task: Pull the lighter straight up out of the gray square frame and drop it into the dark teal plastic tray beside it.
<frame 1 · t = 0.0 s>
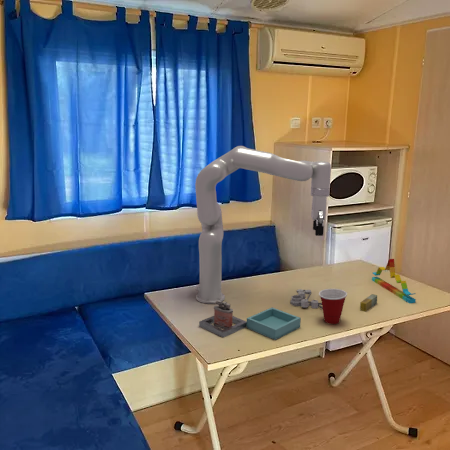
hand: (317, 232, 200), 31 cm above the table, tool pointing down, fingers open, 9 cm apart
pulley system: (306, 304, 207), on the table
medication box: (368, 307, 203), on the table
plastic cup: (331, 321, 188), on the table
lighter: (223, 327, 183), resting in gray square frame
gray square frame: (223, 326, 183), on the table
tray: (273, 327, 182), on the table
rainbow zigzag toy: (392, 291, 222), on the table
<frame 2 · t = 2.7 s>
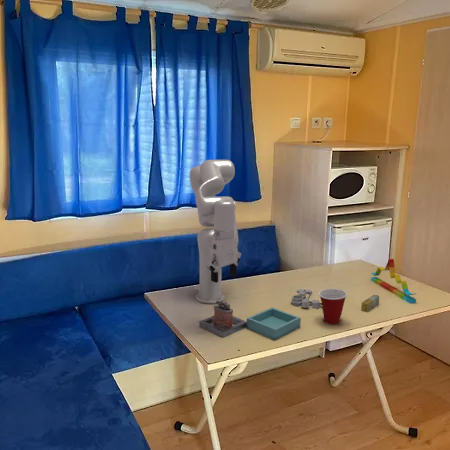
hand: (223, 278, 178), 19 cm above the table, tool pointing down, fingers open, 9 cm apart
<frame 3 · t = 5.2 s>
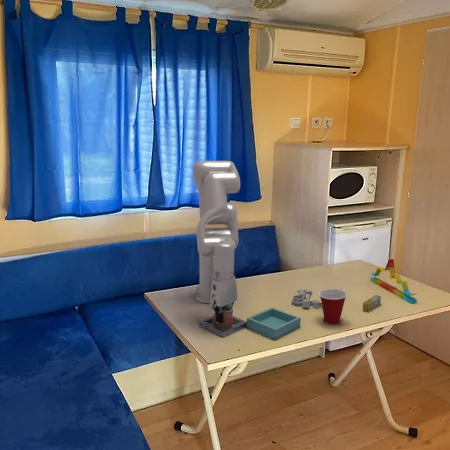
hand: (223, 319, 182), 3 cm above the table, tool pointing down, fingers closed on lighter, 3 cm apart
lighter: (223, 327, 183), resting in gray square frame, touching gripper
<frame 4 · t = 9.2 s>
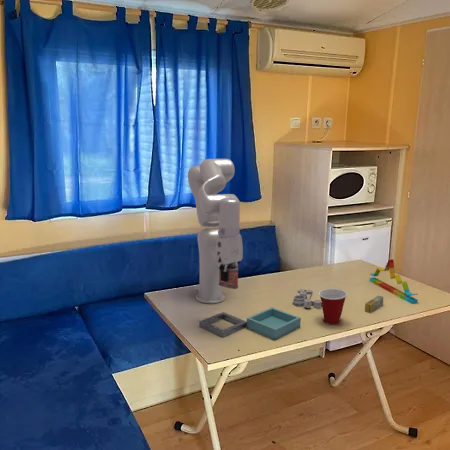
hand: (228, 279, 178), 19 cm above the table, tool pointing down, fingers closed on lighter, 3 cm apart
medication box: (373, 309, 201), on the table
lighter: (228, 286, 179), point 16 cm above the table, touching gripper
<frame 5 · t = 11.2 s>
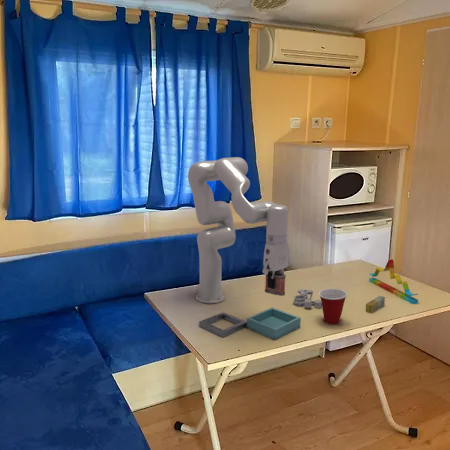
hand: (274, 285, 178), 17 cm above the table, tool pointing down, fingers closed on lighter, 3 cm apart
lighter: (274, 293, 179), point 14 cm above the table, touching gripper
when the fingers open (6 cm above the table, at t = 13.3 s): lighter stays where it is, point 3 cm above the table.
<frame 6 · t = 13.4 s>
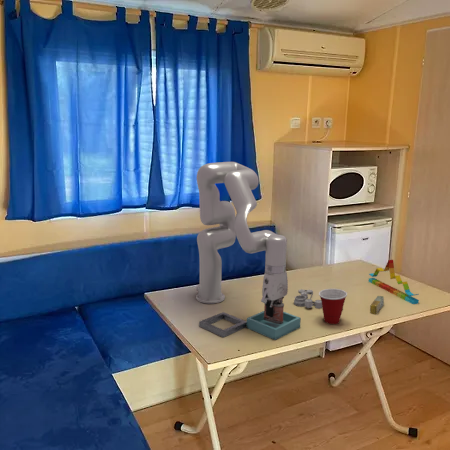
hand: (273, 313, 181), 6 cm above the table, tool pointing down, fingers open, 3 cm apart
lighter: (273, 321, 182), point 3 cm above the table
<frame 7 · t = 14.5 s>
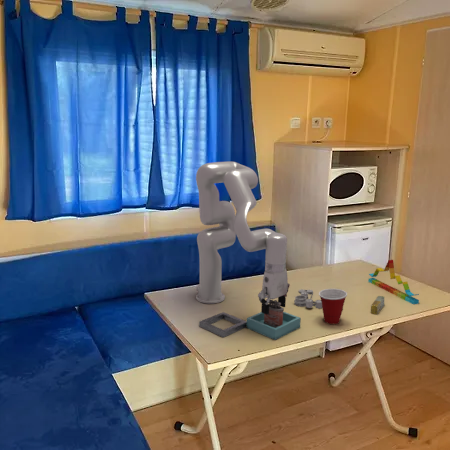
hand: (273, 309, 181), 7 cm above the table, tool pointing down, fingers open, 9 cm apart
lighter: (273, 325, 182), point 1 cm above the table, touching tray
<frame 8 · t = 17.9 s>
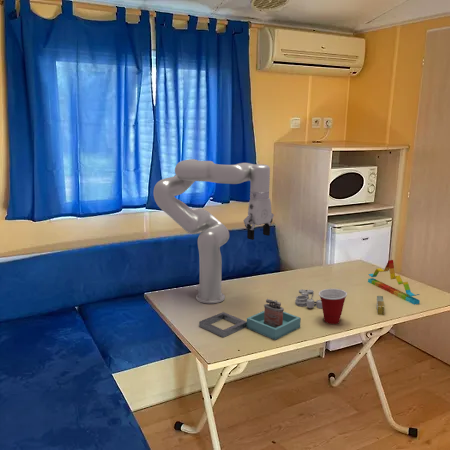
hand: (258, 237, 195), 30 cm above the table, tool pointing down, fingers open, 9 cm apart
medication box: (379, 310, 200), on the table
at the end: lighter inside the target area on the tray (0.2 cm from its centre), point 0.8 cm above the tray's base; the gripper is holding nothing; lighter touching tray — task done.
